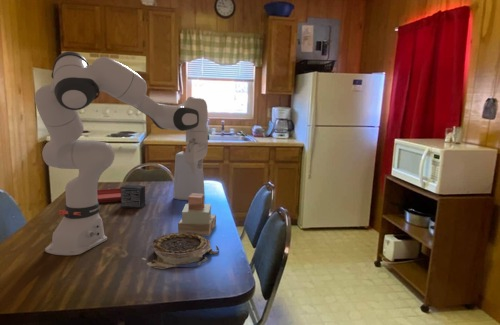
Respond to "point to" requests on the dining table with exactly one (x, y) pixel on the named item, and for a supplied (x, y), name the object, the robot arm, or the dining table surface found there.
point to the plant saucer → (109, 195)
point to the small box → (132, 196)
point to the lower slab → (198, 227)
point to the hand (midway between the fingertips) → (196, 170)
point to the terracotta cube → (196, 201)
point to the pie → (180, 249)
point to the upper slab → (196, 215)
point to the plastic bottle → (186, 178)
